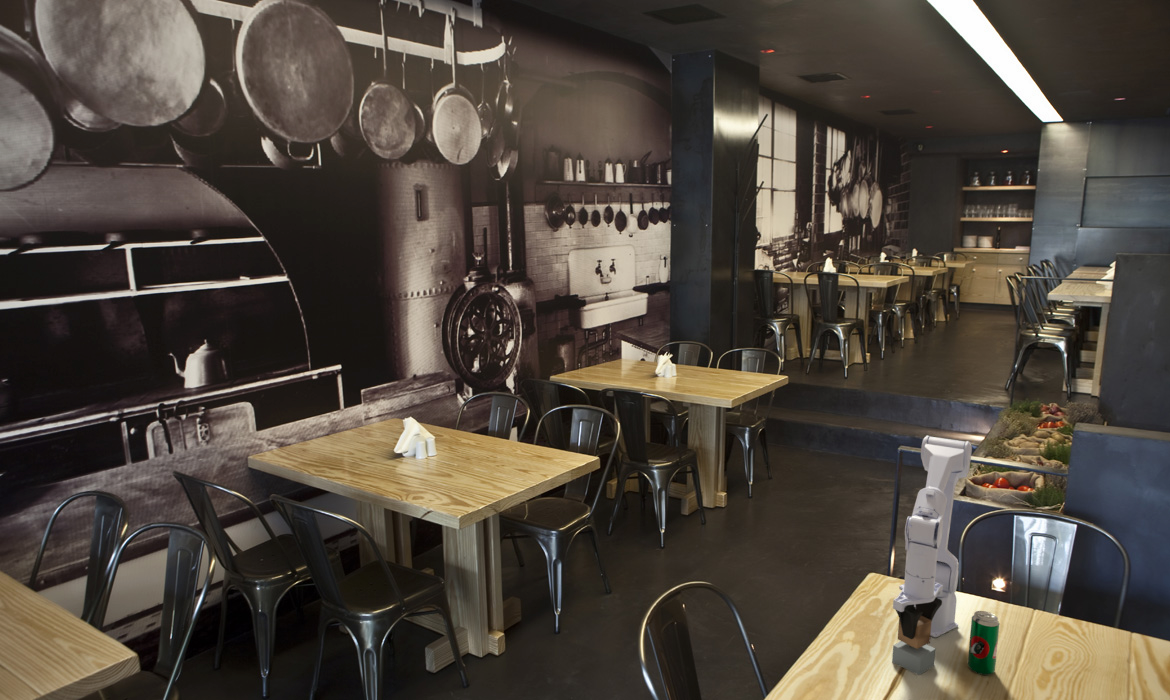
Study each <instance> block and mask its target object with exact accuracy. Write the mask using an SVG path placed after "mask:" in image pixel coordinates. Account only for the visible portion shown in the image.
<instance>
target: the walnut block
mask: <svg viewBox="0 0 1170 700" xmlns="http://www.w3.org/2000/svg"><path fill="white" fill-rule="evenodd" d="M931 622H932V620H930V619H928V618H925V617H923V616H920V618H919V621H918V623H917V627H916V633H915V636H914V638H913V639H910V638H908V637H906V636H904V635H903V632H902V627H901V623H900V619H899V618H898V629H897V640H898V641H899V642H900V641H902V642H904V643H906V644H908V645H910V646H912V647H914V648H916V649H918V648H920V647H922V646H924V645H926V644H927V645H928V644H930V643H931V636H930V634H931Z"/></svg>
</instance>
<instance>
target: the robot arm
mask: <svg viewBox="0 0 1170 700" xmlns="http://www.w3.org/2000/svg"><path fill="white" fill-rule="evenodd" d="M921 442H922V443H921V446H920V447H921V450H920V459H921V461H922V466H923V469H924V471H926V472H927V477H926V484H925V487H924V488H921V489H920V490H919V491H918V492H917V496H916V500H915V503H914V506H913V509H912V514H911V516H910V515H909V516H907V518H906V522H905V527H904V540H905V547H904V548H905V551H906V559H905V570H904V583H903V584H900V585H899V587H898V588H899V590H900V592H899V594H898V596H897V597H896V598H894V599H892V608H893V609H894V610H895V612H896V614H897V616H898V620H899V619H900V623H901V627H902V632H903V635H904V636H906V637H908V638H910V639H913V638H914V636H915V633H916V627H917V623H918V621H919V618H920V616H923V617H925V618H928V619H930V620H932V622H931V634H930V637H933V638H938V637H939V636H942V635H944V634H945V633H948V632H950V631H952V630H954V629H956V628H957V627H959V623H958V622H957V623H956V611H957V610H956V609H957V596H956V591H957V587H958V583H959V582H958V581H959V566H960V565H959V564H960V563H959V560H958V558H957V557H956V556H955V555H954V554H953V553H951V552H950V551H949V549H948V545H949V538H950V536H949V535H950V530H951V529H950V528H951V523H952V514H953V506H954V498H955V491H956V486H957V484H958V482H959V479H964V478H967V477H968V474H969V471H970V468H971V467H970V465H971V459H972V452H973V450H972V449H973V447H972V446H973V445H972V444H971V442H970V441H969V440H966V441H964V440H957V439H950V438H943V437H934V436H930V435H925V436H924V438H922V441H921ZM937 561H938V562H937ZM941 562H942V563H941ZM944 563H945V564H944Z"/></svg>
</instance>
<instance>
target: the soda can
mask: <svg viewBox="0 0 1170 700" xmlns="http://www.w3.org/2000/svg"><path fill="white" fill-rule="evenodd" d="M970 622H971V623H970V634H969V635H970V636H969V645H968V655H967V666H968V667H969V669H970V670H971V671H973V673H976V674H979V675H982V676H990V675H992V674H994V673H995V671H996V664H997V663H996V662H997V654H998V644H999V643H998V641H999V634H1000V633H999V632H1000V622H999V618H998V616H997V615H996V614H994V613H992V612H991V611H990V612H989V611H985V610H977V611H976V610H975V611H974V613H973V615H972V617H971V621H970Z"/></svg>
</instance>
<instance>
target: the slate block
mask: <svg viewBox="0 0 1170 700" xmlns="http://www.w3.org/2000/svg"><path fill="white" fill-rule="evenodd" d="M892 646H893V647H892V657H891V658H892V659H891V662H892V663H893V664H895V665H897V666H899V667H901V668H903V669H905V670H907V671H908V672H909V671H910V672H912V673H913V674H916V675H917V676H921V675H922V674H923V673H925V672H926V671H928V670H930V669H931V668H933V667H934V666H935V660H936V648H935V647H933V646H931V645H928V644H926V645H924V646H922V647H920V648H918V649H916V648H914V647H912V646H910V645H908V644H906V643H904V642H902V641H900V640H899V641H898V642H897V643H895V644H893V645H892Z"/></svg>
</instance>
